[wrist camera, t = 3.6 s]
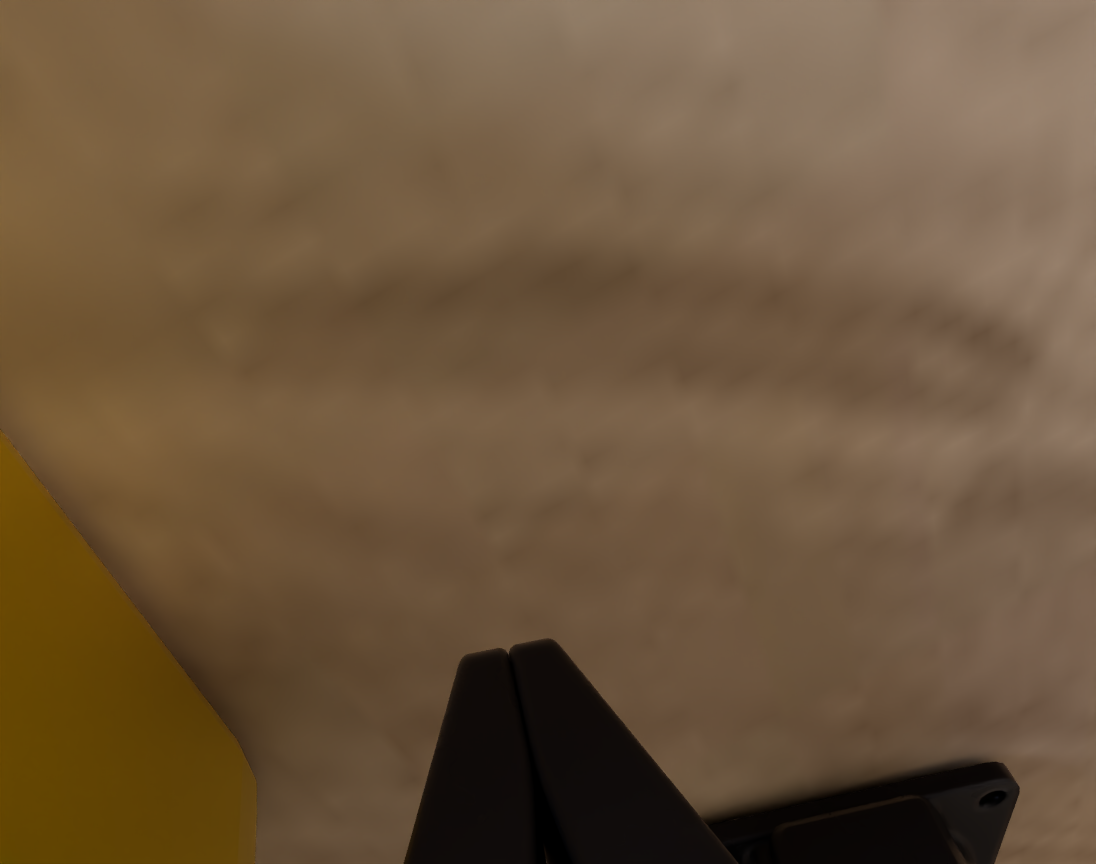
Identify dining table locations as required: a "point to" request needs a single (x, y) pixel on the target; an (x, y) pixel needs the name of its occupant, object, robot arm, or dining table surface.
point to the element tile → (100, 712)
